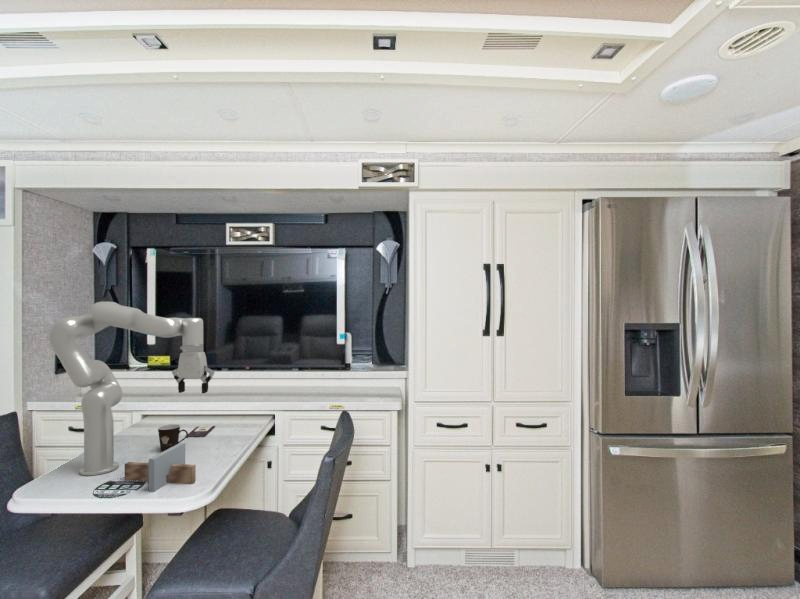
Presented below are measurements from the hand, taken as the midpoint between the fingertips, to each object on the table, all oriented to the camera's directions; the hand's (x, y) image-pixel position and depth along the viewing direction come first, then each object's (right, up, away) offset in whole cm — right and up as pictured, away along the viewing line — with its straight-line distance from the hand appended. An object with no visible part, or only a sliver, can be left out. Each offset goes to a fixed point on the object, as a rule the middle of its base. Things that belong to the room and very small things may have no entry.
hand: (193, 392), depth 183 cm
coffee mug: (-17, -29, +17) cm, 37 cm away
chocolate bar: (-17, -29, +45) cm, 56 cm away
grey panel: (-1, -28, -18) cm, 33 cm away
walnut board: (-4, -28, -17) cm, 33 cm away
